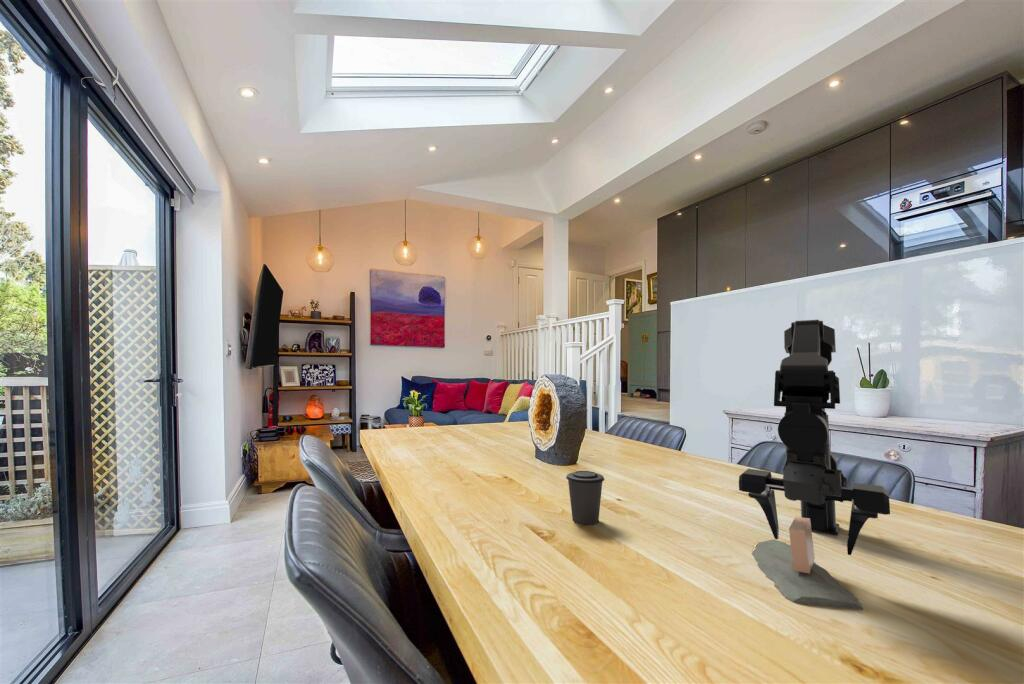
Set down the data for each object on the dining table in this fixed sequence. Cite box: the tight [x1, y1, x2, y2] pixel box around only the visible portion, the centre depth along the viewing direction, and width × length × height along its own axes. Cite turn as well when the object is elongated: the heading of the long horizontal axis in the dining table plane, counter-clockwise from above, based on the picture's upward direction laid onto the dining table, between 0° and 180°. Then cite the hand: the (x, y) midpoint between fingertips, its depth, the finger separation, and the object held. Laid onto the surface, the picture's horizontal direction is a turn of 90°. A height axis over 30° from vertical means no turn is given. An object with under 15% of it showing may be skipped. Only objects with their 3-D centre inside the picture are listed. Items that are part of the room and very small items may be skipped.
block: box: [788, 516, 816, 574], centre depth 66 cm, size 2×7×6 cm, turn 140°
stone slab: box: [751, 538, 864, 610], centre depth 68 cm, size 22×3×10 cm
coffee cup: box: [565, 470, 606, 526], centre depth 90 cm, size 8×8×10 cm
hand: (811, 546), depth 66 cm, fingers open, 9 cm apart
